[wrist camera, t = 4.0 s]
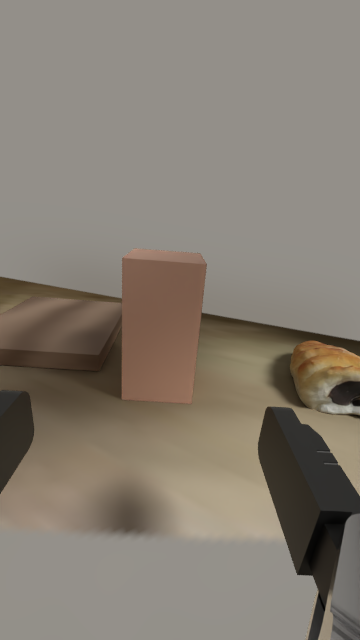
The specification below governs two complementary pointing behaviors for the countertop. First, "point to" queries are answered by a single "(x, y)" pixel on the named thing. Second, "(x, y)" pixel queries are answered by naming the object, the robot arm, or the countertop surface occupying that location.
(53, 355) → the walnut board
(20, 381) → the countertop surface
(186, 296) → the tall block
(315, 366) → the pastry
